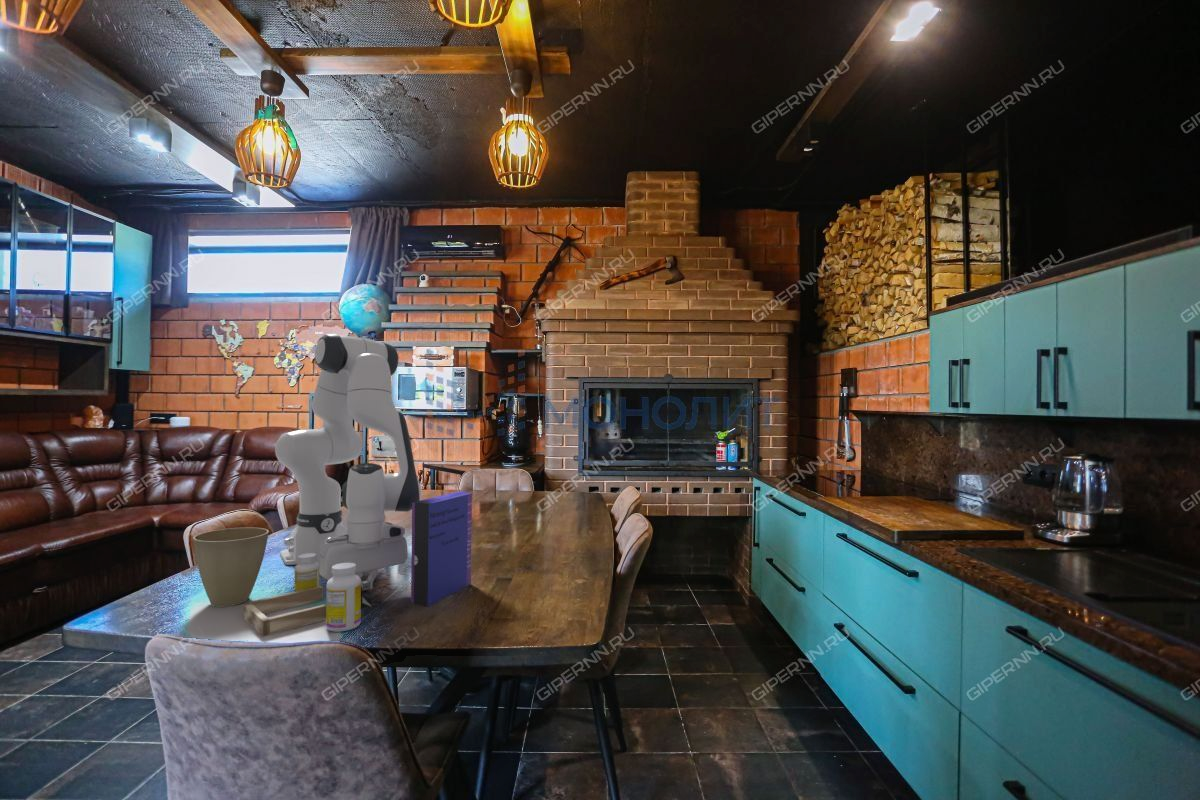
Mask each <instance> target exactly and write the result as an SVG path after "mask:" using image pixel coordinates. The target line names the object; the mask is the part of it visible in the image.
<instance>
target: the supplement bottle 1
mask: <svg viewBox="0 0 1200 800" xmlns="http://www.w3.org/2000/svg"><path fill="white" fill-rule="evenodd" d="M315 561H316V554H315V553H306V554H301V555H299V556H298V563H299V564H295V567H294V592H296V591H301V590H305V589H310V588H314V587H319V586H321V585H320V580H321V579H320V578H321V575H320V574H319V568H320V564H318V563H317V562H315Z"/></svg>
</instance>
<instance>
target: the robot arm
mask: <svg viewBox="0 0 1200 800" xmlns="http://www.w3.org/2000/svg"><path fill="white" fill-rule="evenodd" d="M314 362H315V364H316V365H317V367H318V368H319V369H320V373H319V375H318V378H317V382H316V386H315V389H314V392H313V397H312V400H311V409H312V412H313V414H314V415H315V416H316V417H318V418H319V419H320V420H322V426H321V428H312V429H311V428H310V429H298V430H292V431H290V432H285V433H283V434H281V435H280V436H279V437H278V439H277V441H276V443H275V446H274V452H275V454H274V455H275V457H276V459H277V461H278V462H279V463H280V464H281V465H283V466H285V467H286V468H287V469H288V470H289V471H290V472H291V473H292V474H293V477H294V478H295V480H296V483H297V486H298V494H299V495H298V496H299V512H298V513H297V516H296V526H295V528H294V529H293V531H292V532H291V533H290V534H289V537H288V538H284V542H283V544H284V546H285V547H288V548H285V549H283V550H280V552H279V555H280V557H281V559H282V561H283V564H284V565H286V566H293V565H295V566H296V565H298V564H299V563H298V556H299V555H301V554H306V553H315V554H316V561H315V562H317V563H318V564H319V567H320V568H319V574H320V577H322V578H323V579H324V580H327V581H328V580H329V579H331V578H332V577H333V574H332V566H334V565H336V564H340V563H355V564H356V571H355V575H357V576H359V577H360V579H361V586H362V591H367V590H371V589H373V583H374V580H375V579H376V577H377V576H378V570H381V569H384V568H385V569H386V568H390V567H395V566H399V565H403V564H405V563H406V561H407V560H408V555H409V554H408V542H407V541H408V540H407V539H406V537H405V536H404V535H405V533H406V528H405V527H404V526H401V525H399V524H396V523H392V522H386V514H385V512H393V511H394V512H404V513H405V512H406V513H407V512H410V511H412V503H413V502H417V501H421V497H422V488H421V483H420V480H419V477H418V474H417V471H416V467H415V460H414V453H413V449H412V444H411V438H410V433H409V428H408V424H407V419H406V417H405V416H404V414H403V413H402V412H401V411H398V410H397V408H396V406H395V405H394V402H393V401H394V400H393V384H392V383H393V382H392V376H393V375H394V374H395V373H396V371H397V369H398V365H399V353H398V351H397V349H396V347H394V345H392V344H390V343H387V342H384V341H383V342H380V341H377V340H373V339H370V338H367V337H358V336H357V337H356V336H349V335H340V334H338V333H328V334H327V333H326V334H323V335H322V336H321V337H319V339H318V340H317V342H316V345H315V348H314ZM353 421H355V422H356V423H357V424H359V425H360V426H362V427H364V428H367V429H370V430H372V431H375V432H378V433H380V434H383V435H385V436H387V437H389V438H390V439H391V440H392V441H393V443H394V446H395V452H396V457H397V463H398V469H399V470H398V472H395V473H394V472H393V473H384V468H383V466H382V465H380V464H378V463H372V462H363V463H359V464H354V465H353V466H351V467H350V468H349V469H348V470H349V471H348V476H347V480H346V481H345V482H344V483H343V484H342V486H341V485H340V483H339V481H337V480H336V479H334V478H332V477H329V476H328V474H327V472H326V466H327V465H328V466H329V465H338V464H344V463H347V462H351V461H354V460H357V459H358V458H359V457H360V456H361V454H362V452H363V447H364V445H363V444H364V443H363V442H364V441H363V438H362V437H361V435H360V434H359V432H358V431H357V430H356V429H355V428H354V425H353ZM341 489H342V490H341ZM341 493H342V494H341ZM341 495H342V500H341ZM341 501H342V506H343V507H344V508H345V509H346V510H347V514H346V517H345V525H343V523H342V521H343V510H342V509H341V508H342V507H341ZM363 573H368V577H367V578H366V580H362V578H363Z"/></svg>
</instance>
